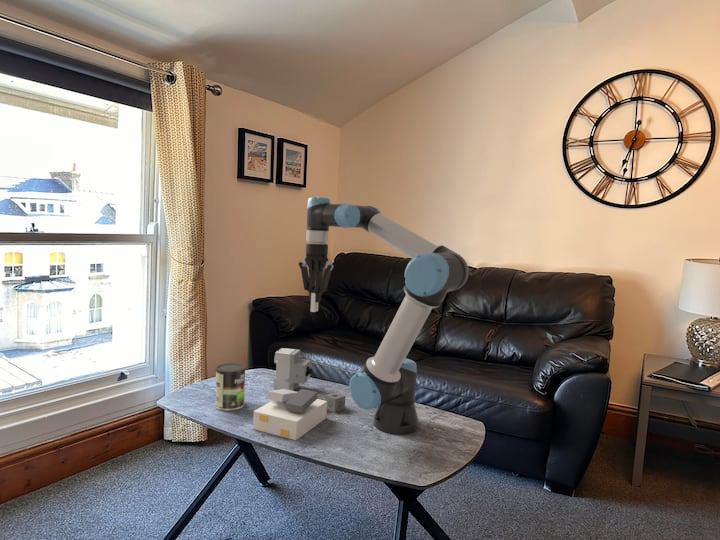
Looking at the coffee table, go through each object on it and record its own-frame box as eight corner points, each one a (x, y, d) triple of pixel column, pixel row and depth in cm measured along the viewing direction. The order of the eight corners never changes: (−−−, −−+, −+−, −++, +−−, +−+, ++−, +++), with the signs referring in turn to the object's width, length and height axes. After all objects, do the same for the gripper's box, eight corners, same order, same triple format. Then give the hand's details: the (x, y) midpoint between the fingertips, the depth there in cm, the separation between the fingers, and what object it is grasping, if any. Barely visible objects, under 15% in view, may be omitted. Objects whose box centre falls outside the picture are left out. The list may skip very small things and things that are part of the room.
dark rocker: (317, 398, 165) (317, 392, 164) (301, 413, 156) (301, 406, 155) (301, 395, 167) (301, 388, 167) (285, 409, 158) (285, 402, 158)
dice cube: (325, 408, 179) (325, 395, 178) (335, 405, 182) (335, 392, 182) (334, 412, 175) (335, 399, 175) (344, 409, 179) (345, 396, 178)
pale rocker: (297, 399, 169) (298, 392, 169) (281, 401, 160) (283, 394, 160) (282, 395, 171) (283, 388, 171) (266, 398, 162) (267, 390, 162)
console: (326, 417, 170) (327, 397, 169) (295, 440, 152) (296, 418, 151) (286, 408, 177) (287, 389, 176) (252, 429, 158) (253, 407, 157)
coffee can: (249, 402, 180) (251, 365, 179) (234, 412, 171) (235, 373, 169) (225, 398, 183) (226, 361, 182) (208, 407, 174) (209, 369, 172)
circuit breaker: (307, 393, 192) (309, 356, 191) (273, 389, 195) (274, 352, 194) (313, 387, 200) (314, 351, 198) (280, 383, 203) (281, 347, 201)
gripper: (339, 244, 168) (336, 312, 171) (306, 241, 174) (303, 307, 176) (328, 244, 162) (325, 315, 164) (294, 242, 167) (292, 310, 169)
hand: (314, 311), depth 170 cm, fingers closed
